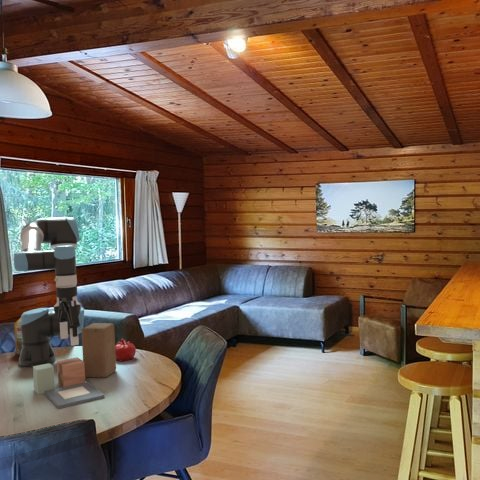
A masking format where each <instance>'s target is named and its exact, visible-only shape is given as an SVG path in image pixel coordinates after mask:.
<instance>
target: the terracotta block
mask: <svg viewBox="0 0 480 480" xmlns="http://www.w3.org/2000/svg"><path fill="white" fill-rule="evenodd" d="M56 369H57V384H58V386H60V388H61V387H66V386H71V385H75V384H80V383H84V382H86V377H85V367H84V361H83V359H81V358H79V357H72V358H66V359H63V360H56Z"/></svg>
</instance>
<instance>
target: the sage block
mask: <svg viewBox="0 0 480 480" xmlns="http://www.w3.org/2000/svg"><path fill="white" fill-rule="evenodd" d="M54 367H55V366H54V365H52V364H51V363H48V364H43V365H38V366H32V372H33V373H32V375H33V391H34V392H35V393H36V395H44V394H45V393H44V391H48V390H52V389H56V383H55V381H56V380H55V368H54Z"/></svg>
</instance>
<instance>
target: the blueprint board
mask: <svg viewBox="0 0 480 480" xmlns="http://www.w3.org/2000/svg"><path fill="white" fill-rule="evenodd" d="M43 394H44V396H46V397H47V398H48V399H49V401H50V402H52V403H51V404H53V405H54V406H55V407H56V409H58V410H59V409H62V408H67V407H71V406H75V405H79V404H83V403H87V402H88V403H89V402H91V401H92V402H93V401H96V400H101V399H105V398H104V397H105V394H104V393H103V392H101V390H99V388H96V387H95V385H93V384H92V383H90V382H88V381H85V382H84V383H80V384H75V385H71V386H66V387H61V386H60V387H59V388H58V387H57V388H55V389H52V390H48V391H44V393H43ZM100 398H101V399H100Z"/></svg>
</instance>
